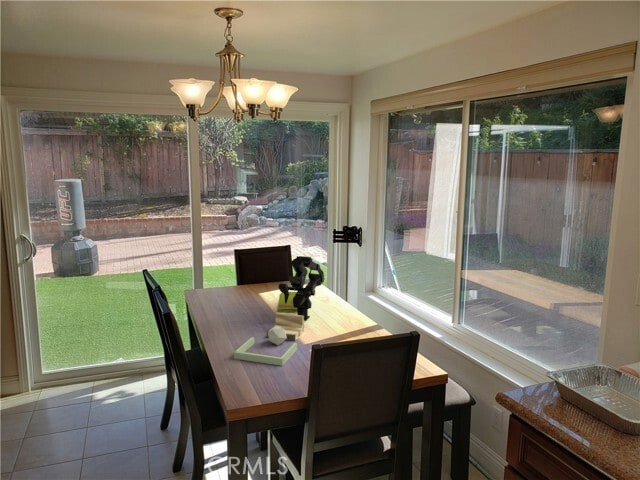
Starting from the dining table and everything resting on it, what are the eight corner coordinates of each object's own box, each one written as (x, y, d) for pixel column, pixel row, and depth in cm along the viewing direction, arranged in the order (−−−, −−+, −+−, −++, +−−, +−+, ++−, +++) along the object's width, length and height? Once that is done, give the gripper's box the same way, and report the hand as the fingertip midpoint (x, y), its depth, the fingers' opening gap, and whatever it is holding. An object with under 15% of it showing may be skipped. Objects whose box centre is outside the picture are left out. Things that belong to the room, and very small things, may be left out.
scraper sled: (277, 328, 240) (277, 312, 238) (303, 331, 236) (303, 315, 234) (267, 337, 228) (267, 321, 226) (294, 341, 224) (294, 324, 222)
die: (290, 345, 221) (288, 325, 225) (281, 341, 213) (279, 321, 218) (275, 348, 223) (273, 329, 228) (265, 345, 216) (264, 325, 221)
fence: (251, 343, 221) (251, 337, 220) (297, 349, 214) (297, 343, 214) (234, 358, 204) (233, 352, 204) (282, 365, 198) (282, 358, 197)
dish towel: (277, 313, 264) (277, 308, 263) (280, 294, 299) (280, 289, 298) (304, 313, 264) (304, 307, 264) (304, 294, 299) (304, 289, 299)
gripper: (279, 267, 243) (271, 294, 235) (313, 270, 238) (306, 298, 230) (285, 278, 252) (277, 304, 244) (318, 281, 247) (311, 308, 238)
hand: (292, 304), depth 239 cm, fingers open, 8 cm apart
